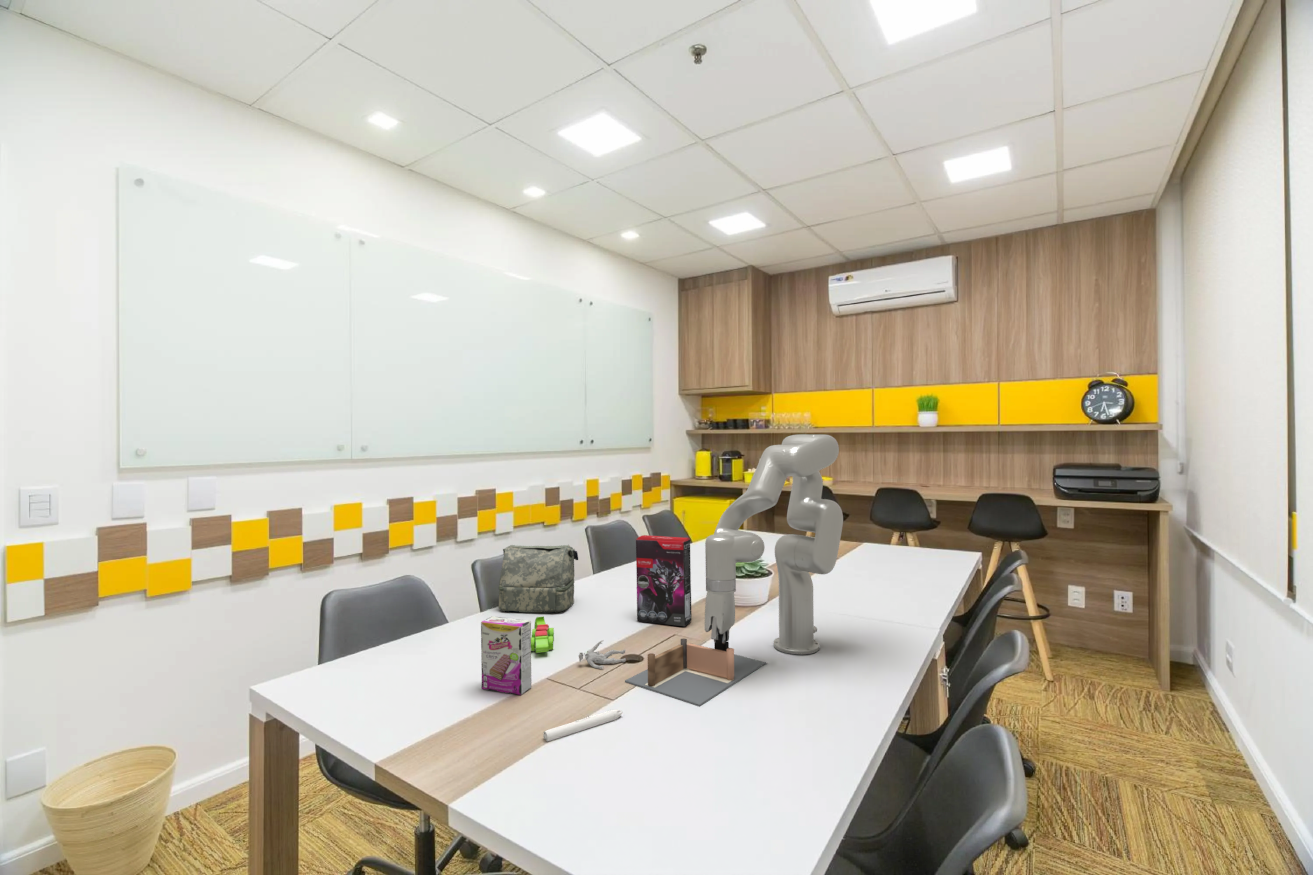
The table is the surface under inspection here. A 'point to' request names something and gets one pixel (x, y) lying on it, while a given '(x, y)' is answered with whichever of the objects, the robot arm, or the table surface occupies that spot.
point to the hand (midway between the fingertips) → (721, 657)
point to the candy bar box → (506, 655)
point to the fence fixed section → (667, 663)
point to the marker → (581, 724)
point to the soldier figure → (600, 657)
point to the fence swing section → (711, 660)
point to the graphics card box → (663, 580)
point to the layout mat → (697, 682)
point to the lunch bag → (537, 578)
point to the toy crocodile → (542, 636)
